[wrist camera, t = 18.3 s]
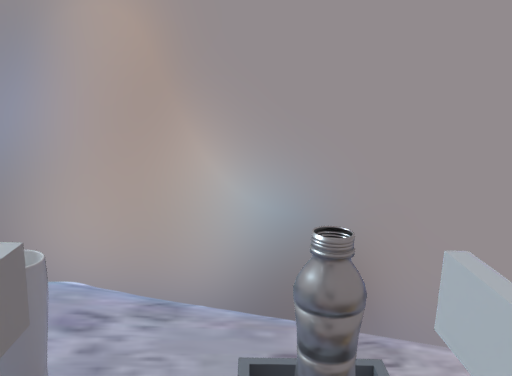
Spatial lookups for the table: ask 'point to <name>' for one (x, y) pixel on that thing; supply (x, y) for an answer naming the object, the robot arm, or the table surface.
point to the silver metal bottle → (329, 305)
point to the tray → (283, 369)
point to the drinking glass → (31, 324)
